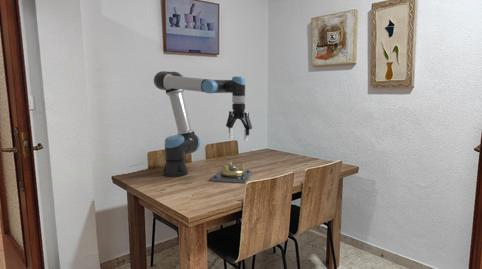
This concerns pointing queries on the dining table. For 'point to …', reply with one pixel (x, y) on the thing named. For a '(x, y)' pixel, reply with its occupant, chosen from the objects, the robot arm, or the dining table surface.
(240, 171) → the three-jaw lathe chuck
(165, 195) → the dining table surface
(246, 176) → the plate
